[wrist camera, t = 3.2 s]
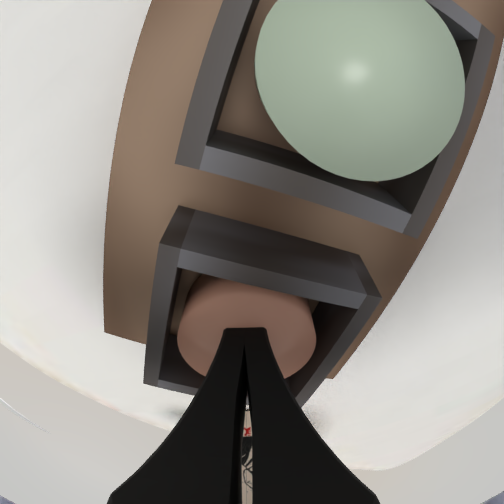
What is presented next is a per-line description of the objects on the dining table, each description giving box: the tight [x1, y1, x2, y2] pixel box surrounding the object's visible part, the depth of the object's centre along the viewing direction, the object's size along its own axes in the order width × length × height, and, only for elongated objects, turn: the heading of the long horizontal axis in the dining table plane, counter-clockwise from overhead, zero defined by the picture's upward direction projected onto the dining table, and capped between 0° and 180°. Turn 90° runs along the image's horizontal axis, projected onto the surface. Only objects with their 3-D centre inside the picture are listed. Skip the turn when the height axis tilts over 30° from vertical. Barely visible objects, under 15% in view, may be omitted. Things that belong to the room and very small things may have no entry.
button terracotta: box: [177, 274, 316, 379], centre depth 11 cm, size 5×5×2 cm
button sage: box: [254, 0, 465, 181], centre depth 6 cm, size 5×5×2 cm
